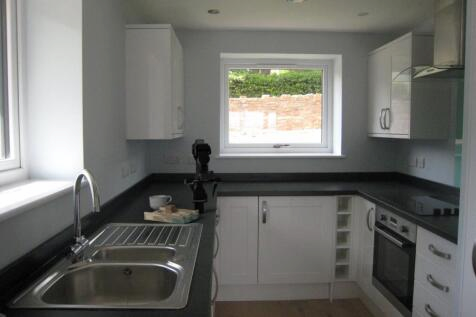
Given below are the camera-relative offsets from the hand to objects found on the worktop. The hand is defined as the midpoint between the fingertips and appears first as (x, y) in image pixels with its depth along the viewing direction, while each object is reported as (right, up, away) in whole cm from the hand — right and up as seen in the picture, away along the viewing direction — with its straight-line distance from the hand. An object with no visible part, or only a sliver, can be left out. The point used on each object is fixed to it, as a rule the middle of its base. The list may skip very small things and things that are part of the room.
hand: (203, 197), depth 190 cm
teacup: (-31, -12, +46) cm, 57 cm away
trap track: (-20, -14, +19) cm, 31 cm away
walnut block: (-21, -11, +23) cm, 33 cm away
